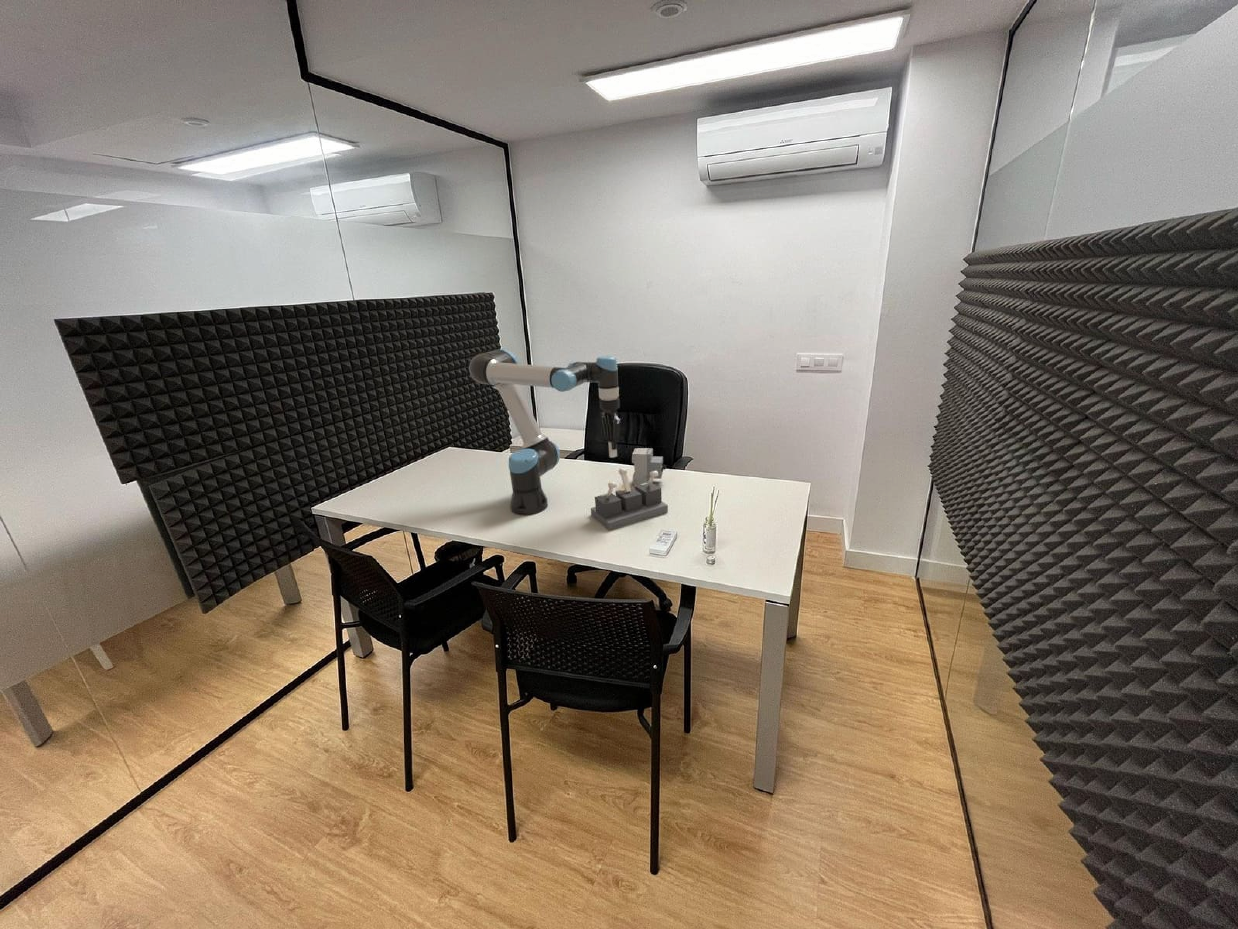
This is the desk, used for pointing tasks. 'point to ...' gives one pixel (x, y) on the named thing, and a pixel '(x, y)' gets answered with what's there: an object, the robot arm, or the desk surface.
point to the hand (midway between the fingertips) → (613, 456)
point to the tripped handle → (625, 479)
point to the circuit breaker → (646, 465)
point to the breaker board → (630, 515)
